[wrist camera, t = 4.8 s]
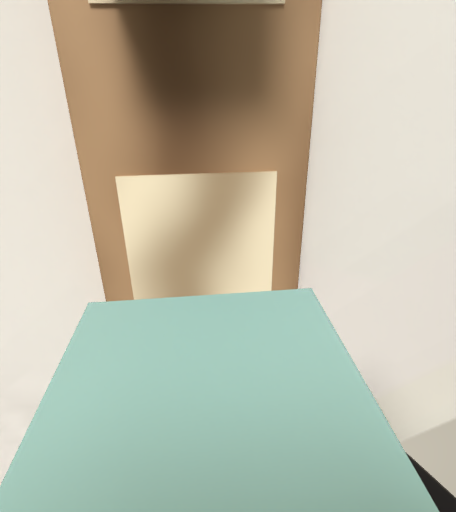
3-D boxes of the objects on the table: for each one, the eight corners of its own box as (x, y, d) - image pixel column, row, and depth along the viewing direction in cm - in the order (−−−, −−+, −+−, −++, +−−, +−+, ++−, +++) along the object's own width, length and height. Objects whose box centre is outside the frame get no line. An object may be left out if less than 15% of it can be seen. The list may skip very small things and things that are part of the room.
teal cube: (311, 288, 8) (454, 539, 4) (297, 435, 10) (376, 705, 6) (88, 302, 8) (-55, 599, 3) (123, 451, 10) (66, 749, 6)
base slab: (322, -308, 11) (359, -422, 8) (282, 304, 20) (294, 333, 18) (12, -330, 10) (-45, -458, 8) (123, 313, 20) (113, 345, 17)
